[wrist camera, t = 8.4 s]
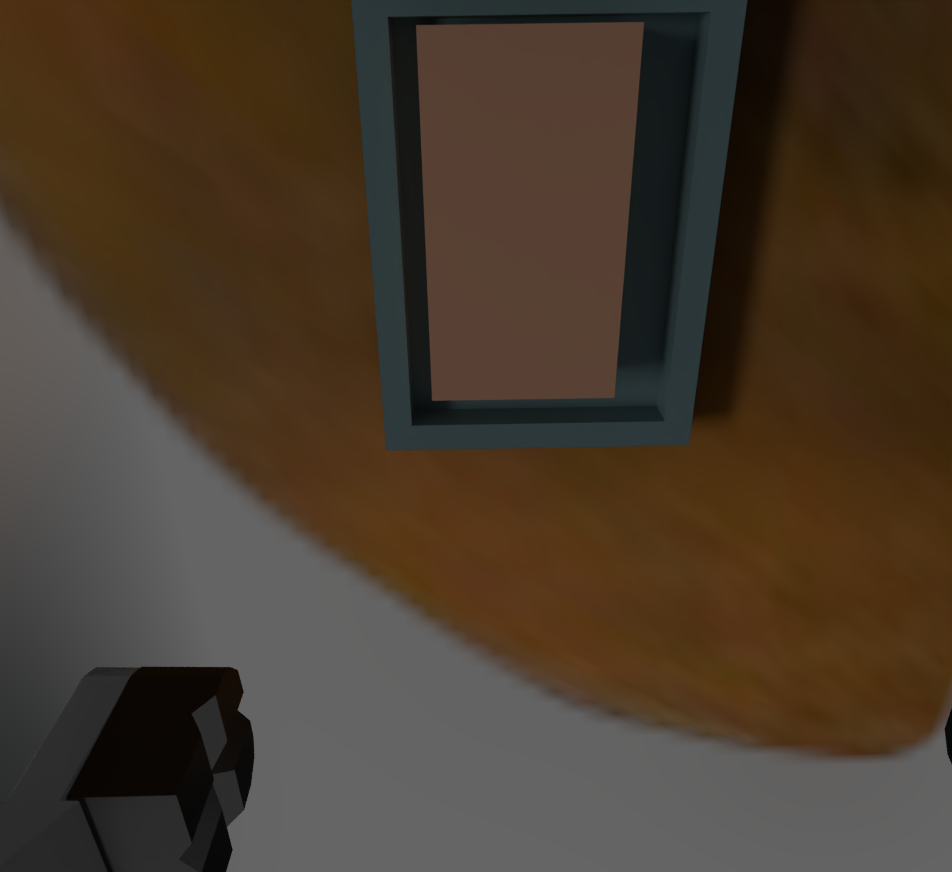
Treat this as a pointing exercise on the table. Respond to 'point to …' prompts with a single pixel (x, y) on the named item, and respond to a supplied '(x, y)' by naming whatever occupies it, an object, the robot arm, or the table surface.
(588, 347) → the ticket
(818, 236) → the table surface
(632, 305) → the tray
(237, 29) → the table surface
